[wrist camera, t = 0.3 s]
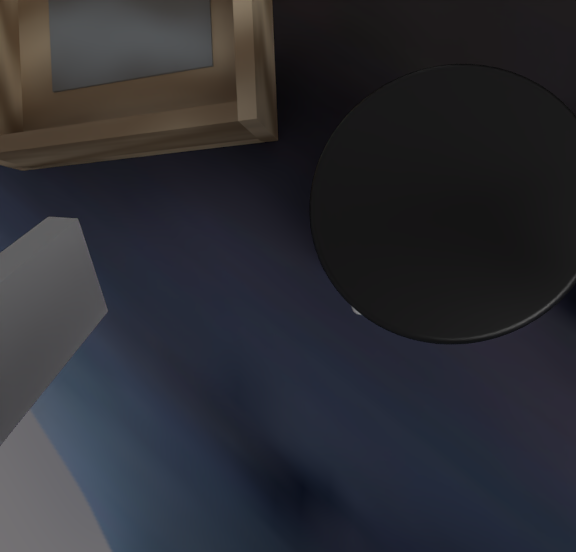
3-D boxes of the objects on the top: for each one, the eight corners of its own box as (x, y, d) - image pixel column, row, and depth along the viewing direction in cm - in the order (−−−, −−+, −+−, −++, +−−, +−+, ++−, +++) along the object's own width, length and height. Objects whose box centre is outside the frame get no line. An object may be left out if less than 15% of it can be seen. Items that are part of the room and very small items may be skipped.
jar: (327, 186, 26) (265, 119, 14) (472, 128, 24) (537, -5, 12) (381, 336, 25) (362, 394, 14) (533, 288, 23) (663, 308, 12)
